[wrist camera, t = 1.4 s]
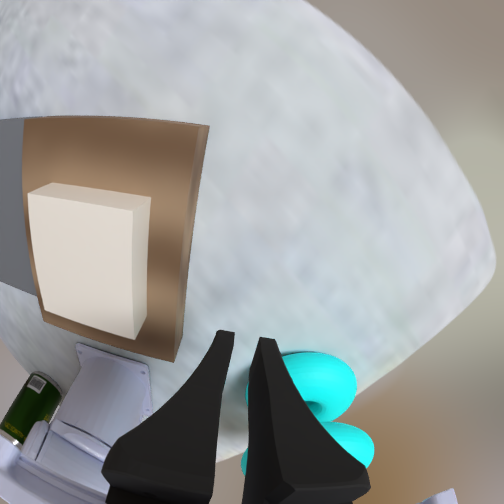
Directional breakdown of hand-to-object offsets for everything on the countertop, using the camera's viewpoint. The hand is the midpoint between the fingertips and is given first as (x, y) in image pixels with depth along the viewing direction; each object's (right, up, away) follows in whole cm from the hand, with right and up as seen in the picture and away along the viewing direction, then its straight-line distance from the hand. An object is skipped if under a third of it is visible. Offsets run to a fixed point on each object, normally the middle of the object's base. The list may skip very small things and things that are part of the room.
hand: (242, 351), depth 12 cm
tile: (-9, +4, +4) cm, 11 cm away
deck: (-10, +6, +7) cm, 13 cm away
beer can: (-27, -13, +17) cm, 35 cm away
